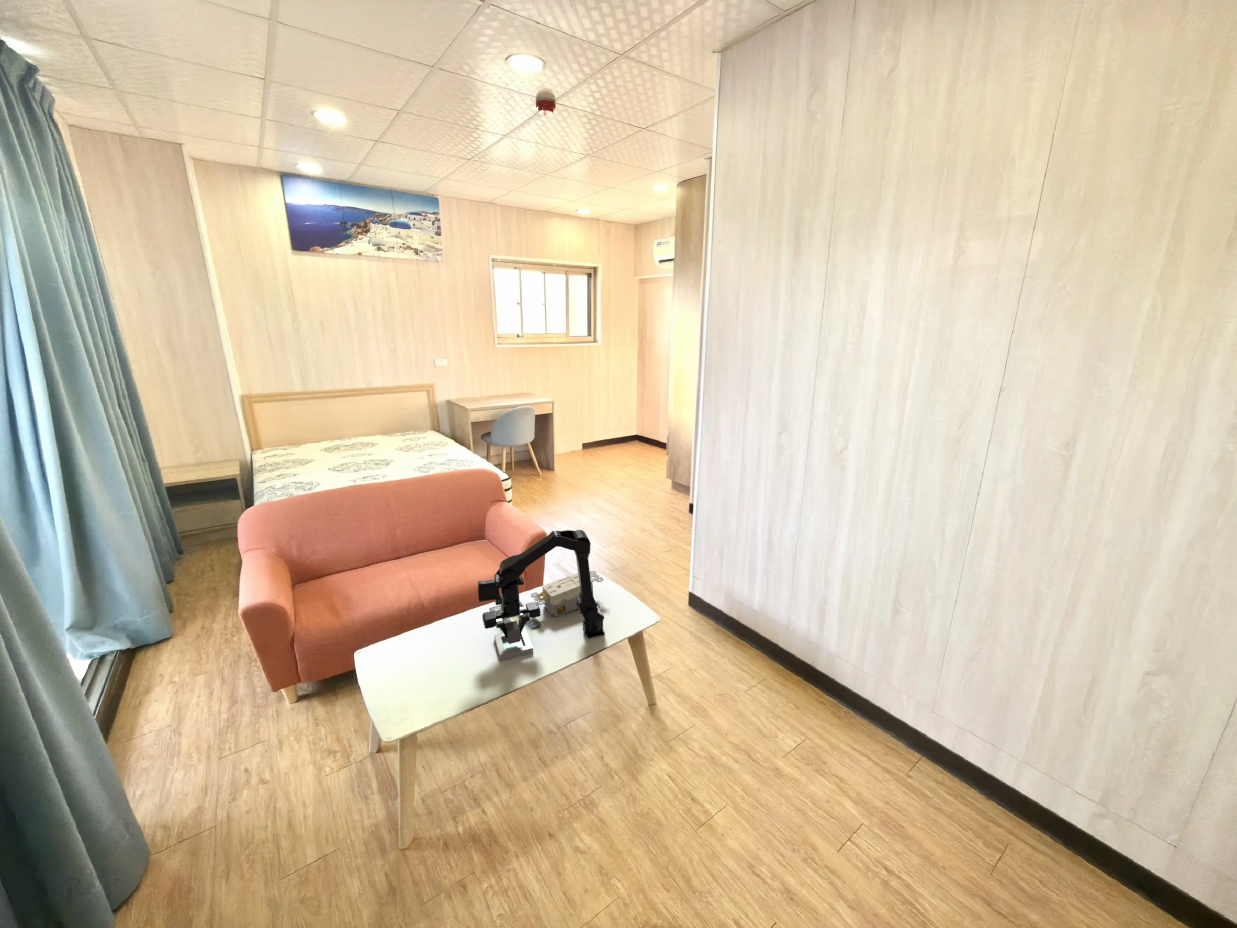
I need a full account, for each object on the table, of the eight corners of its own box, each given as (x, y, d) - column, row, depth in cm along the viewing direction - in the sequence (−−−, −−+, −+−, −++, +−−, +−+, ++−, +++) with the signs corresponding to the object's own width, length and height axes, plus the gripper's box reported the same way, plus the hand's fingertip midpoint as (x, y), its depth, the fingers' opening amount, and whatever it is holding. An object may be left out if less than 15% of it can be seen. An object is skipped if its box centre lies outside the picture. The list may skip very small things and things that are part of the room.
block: (517, 632, 169) (517, 620, 167) (520, 641, 164) (520, 628, 163) (506, 635, 167) (505, 623, 166) (508, 644, 163) (507, 631, 161)
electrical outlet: (607, 599, 194) (606, 577, 191) (542, 626, 180) (540, 603, 176) (593, 586, 203) (591, 565, 200) (530, 610, 189) (527, 588, 186)
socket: (525, 632, 174) (525, 627, 173) (533, 652, 164) (532, 647, 163) (494, 639, 170) (494, 634, 169) (500, 661, 159) (500, 656, 159)
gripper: (532, 578, 172) (534, 616, 176) (478, 589, 164) (481, 628, 169) (540, 594, 162) (541, 634, 166) (483, 607, 155) (486, 648, 159)
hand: (513, 635), depth 165 cm, fingers closed on block, 4 cm apart
